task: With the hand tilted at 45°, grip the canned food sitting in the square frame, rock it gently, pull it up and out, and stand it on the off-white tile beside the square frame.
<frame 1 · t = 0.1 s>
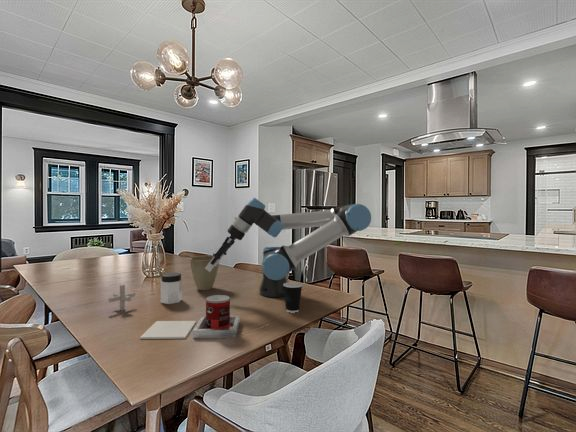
hand: (210, 267, 136), 15 cm above the table, tool tilted 35°, fingers open, 13 cm apart
plant pot: (204, 289, 158), on the table
dixie cup: (292, 311, 125), on the table
jar: (171, 301, 136), on the table
tile: (169, 330, 104), on the table
square frame: (217, 329, 105), on the table
canned food: (217, 330, 105), resting in square frame
pipe connector: (122, 310, 124), on the table
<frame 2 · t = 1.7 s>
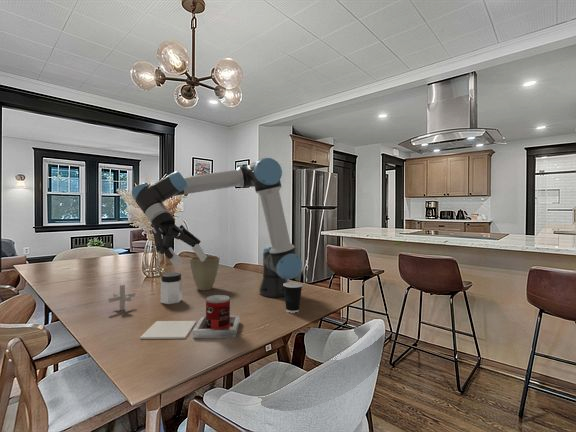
hand: (192, 262, 108), 22 cm above the table, tool tilted 45°, fingers open, 13 cm apart
nothing on the table moved.
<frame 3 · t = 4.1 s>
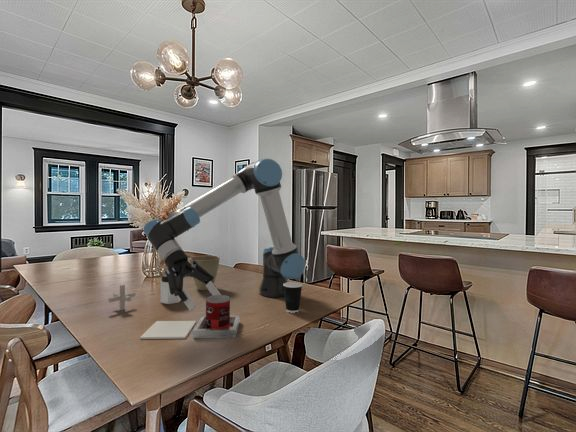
hand: (206, 302, 105), 9 cm above the table, tool tilted 45°, fingers open, 13 cm apart
nothing on the table moved.
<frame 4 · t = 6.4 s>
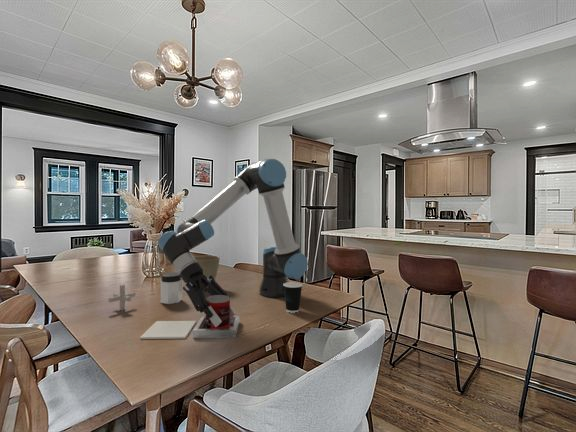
hand: (226, 320, 103), 4 cm above the table, tool tilted 45°, fingers closed on canned food, 8 cm apart
canned food: (217, 330, 105), resting in square frame, touching gripper
everything else where it was.
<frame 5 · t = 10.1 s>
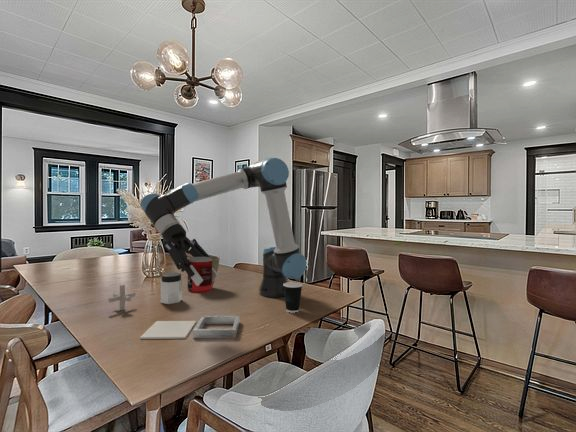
hand: (208, 280, 102), 17 cm above the table, tool tilted 45°, fingers closed on canned food, 8 cm apart
canned food: (199, 291, 103), point 13 cm above the table, touching gripper
everything else where it was.
when the fingers open (6 cm above the table, at t = 13.9 s): canned food drops 1 cm, resting on tile.
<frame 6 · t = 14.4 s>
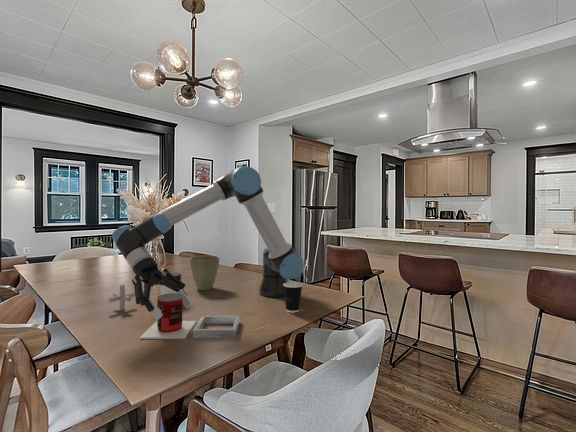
hand: (175, 311, 103), 7 cm above the table, tool tilted 45°, fingers open, 13 cm apart
canned food: (169, 329, 104), resting on tile
everything else where it was.
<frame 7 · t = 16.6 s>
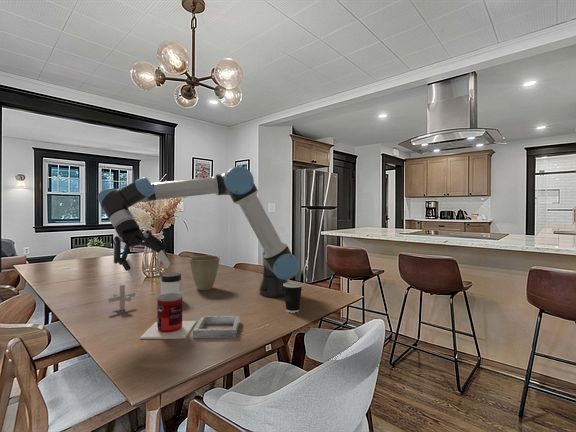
hand: (152, 271, 110), 18 cm above the table, tool tilted 40°, fingers open, 13 cm apart
nothing on the table moved.
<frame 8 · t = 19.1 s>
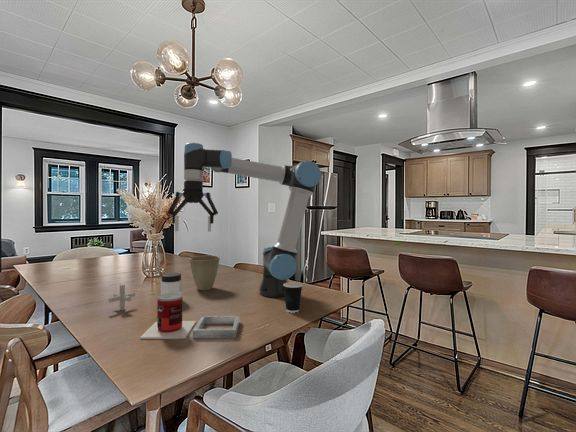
hand: (193, 231, 129), 32 cm above the table, tool pointing down, fingers open, 13 cm apart
nothing on the table moved.
at the end: canned food inside the target area on the tile (0.0 cm from its centre), point 0.4 cm above the tile's base; canned food tilted 0°; canned food touching tile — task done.
